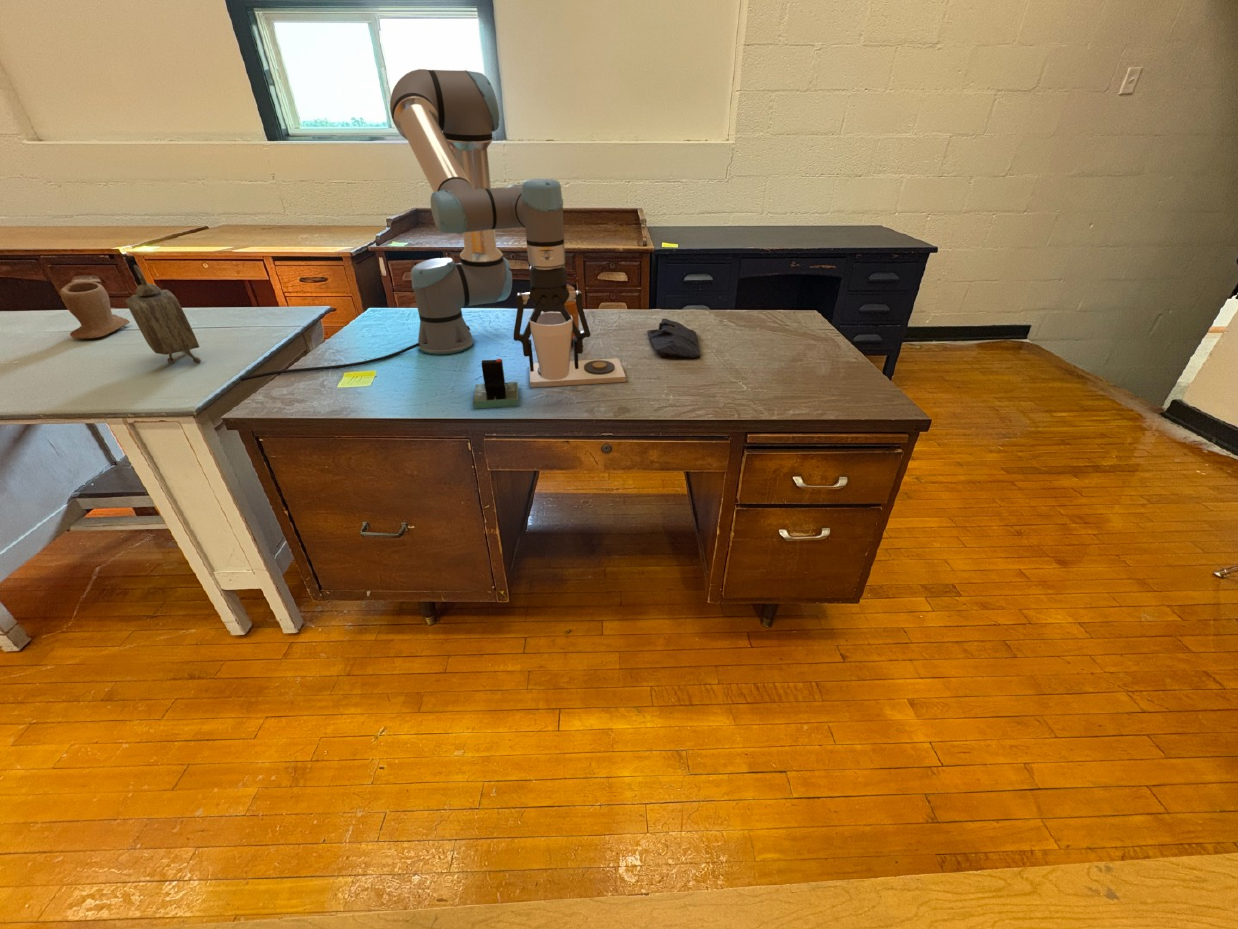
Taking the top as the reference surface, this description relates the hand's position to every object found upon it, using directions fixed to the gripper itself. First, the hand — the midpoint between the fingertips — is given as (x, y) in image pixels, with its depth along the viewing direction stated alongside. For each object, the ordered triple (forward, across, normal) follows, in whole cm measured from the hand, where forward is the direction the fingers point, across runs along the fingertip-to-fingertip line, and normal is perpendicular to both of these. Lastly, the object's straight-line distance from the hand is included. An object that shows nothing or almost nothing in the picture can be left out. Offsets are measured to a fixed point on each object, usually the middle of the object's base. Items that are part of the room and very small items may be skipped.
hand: (554, 367), depth 119 cm
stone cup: (+8, -134, +65) cm, 149 cm away
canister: (+9, +4, +36) cm, 37 cm away
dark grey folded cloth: (+9, +36, +31) cm, 48 cm away
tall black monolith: (+6, -14, +3) cm, 16 cm away
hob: (+8, +6, +14) cm, 17 cm away
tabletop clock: (+8, -100, +38) cm, 107 cm away
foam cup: (+2, 0, 0) cm, 2 cm away
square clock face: (+8, -14, +3) cm, 17 cm away
